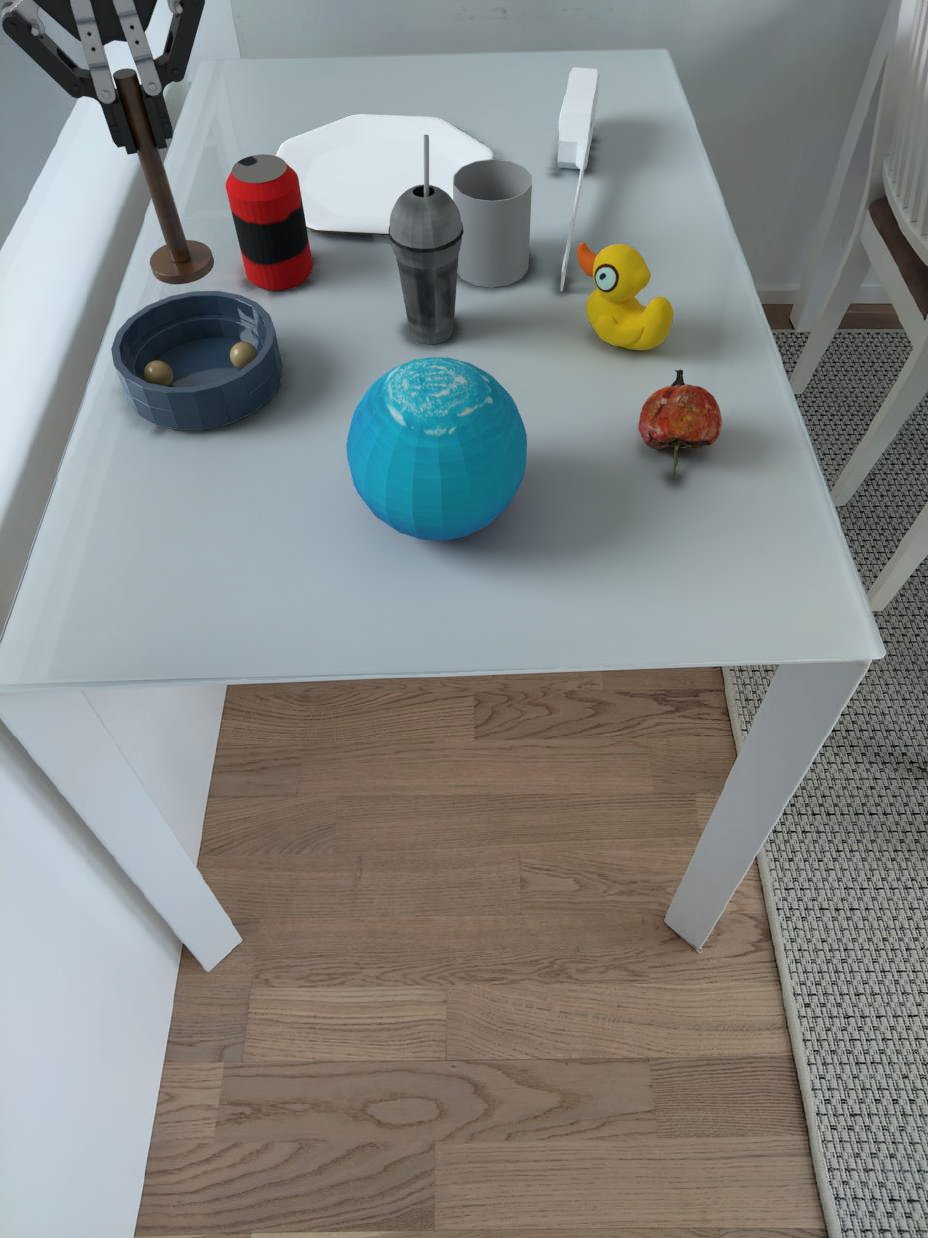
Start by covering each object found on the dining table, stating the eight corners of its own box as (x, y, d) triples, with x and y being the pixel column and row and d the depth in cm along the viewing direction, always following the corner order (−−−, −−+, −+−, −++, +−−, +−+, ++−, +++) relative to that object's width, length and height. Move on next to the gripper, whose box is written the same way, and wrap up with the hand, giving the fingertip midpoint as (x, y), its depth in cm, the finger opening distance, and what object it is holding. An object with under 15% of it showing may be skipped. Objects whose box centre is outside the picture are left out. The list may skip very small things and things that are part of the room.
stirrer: (156, 289, 73) (89, 95, 61) (149, 255, 76) (84, 63, 64) (218, 277, 74) (165, 83, 62) (209, 243, 77) (156, 51, 65)
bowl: (138, 450, 88) (121, 408, 84) (120, 351, 96) (103, 309, 92) (298, 412, 90) (289, 370, 86) (266, 320, 99) (257, 277, 95)
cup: (439, 268, 104) (436, 182, 96) (485, 236, 108) (486, 151, 100) (497, 296, 101) (499, 210, 93) (543, 262, 105) (548, 176, 96)
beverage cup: (386, 343, 97) (366, 154, 80) (414, 303, 100) (400, 115, 84) (450, 359, 95) (442, 169, 79) (476, 318, 99) (474, 129, 83)
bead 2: (236, 378, 93) (229, 356, 90) (231, 361, 94) (224, 339, 92) (263, 372, 93) (257, 349, 91) (258, 356, 95) (252, 333, 92)
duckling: (557, 330, 97) (563, 243, 89) (586, 305, 100) (595, 219, 92) (648, 373, 93) (663, 286, 85) (676, 346, 95) (694, 259, 87)
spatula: (524, 307, 104) (560, 311, 103) (526, 245, 97) (565, 249, 96) (565, 115, 123) (595, 118, 122) (569, 52, 116) (601, 54, 115)
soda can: (285, 245, 107) (266, 141, 98) (327, 271, 104) (311, 167, 95) (233, 272, 104) (207, 168, 95) (273, 300, 101) (251, 196, 91)
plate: (245, 236, 109) (242, 224, 107) (297, 121, 125) (295, 110, 123) (477, 248, 106) (477, 236, 105) (499, 130, 122) (500, 118, 121)
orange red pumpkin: (712, 489, 86) (729, 383, 86) (712, 477, 79) (730, 362, 79) (633, 480, 88) (649, 377, 88) (626, 468, 81) (643, 356, 81)
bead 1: (150, 398, 91) (141, 375, 89) (146, 380, 93) (138, 357, 91) (178, 391, 92) (170, 369, 89) (174, 374, 93) (166, 351, 91)
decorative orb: (356, 458, 87) (336, 323, 74) (515, 448, 87) (520, 312, 75) (357, 583, 78) (334, 453, 66) (533, 571, 78) (543, 440, 66)
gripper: (-71, -118, 50) (53, 190, 64) (182, -151, 52) (248, 154, 66) (-68, -160, 54) (48, 138, 68) (166, -188, 56) (231, 106, 70)
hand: (146, 145), depth 67 cm, fingers closed on stirrer
